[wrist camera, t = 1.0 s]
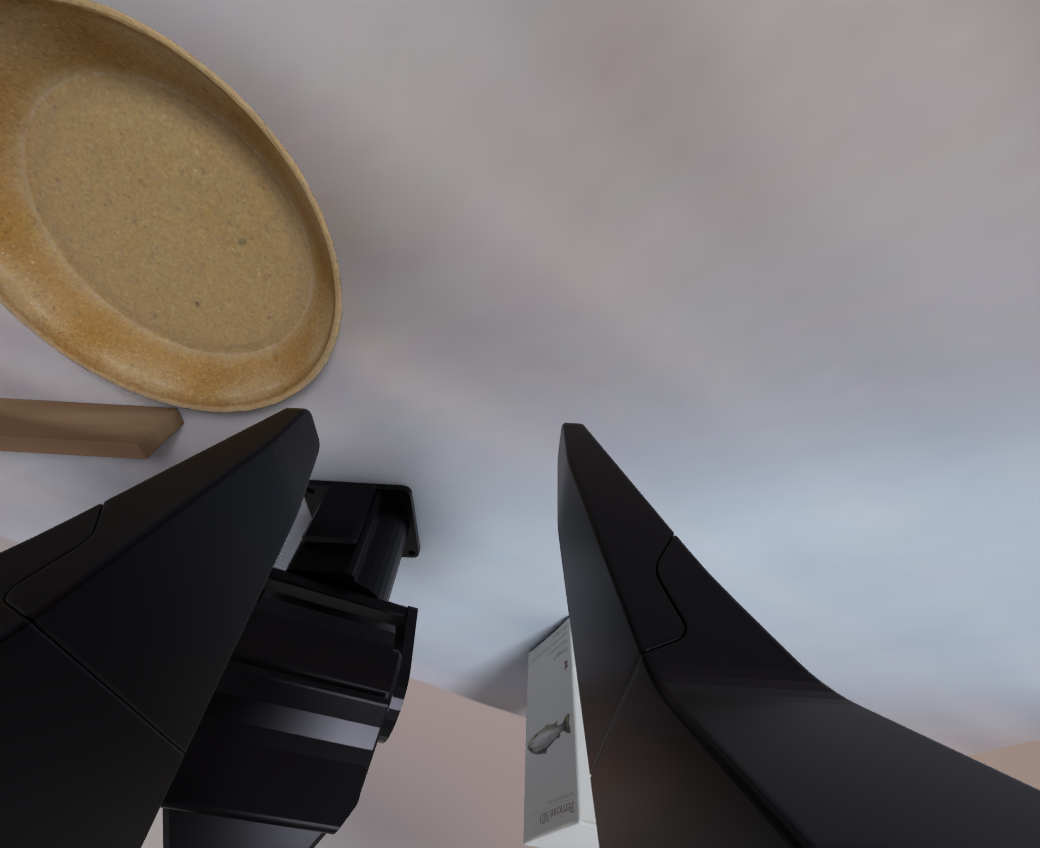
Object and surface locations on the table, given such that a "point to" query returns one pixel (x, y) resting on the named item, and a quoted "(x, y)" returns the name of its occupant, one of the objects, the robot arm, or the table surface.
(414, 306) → the table surface
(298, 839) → the robot arm
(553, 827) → the supplement box
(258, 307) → the plant saucer
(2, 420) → the lane walls
